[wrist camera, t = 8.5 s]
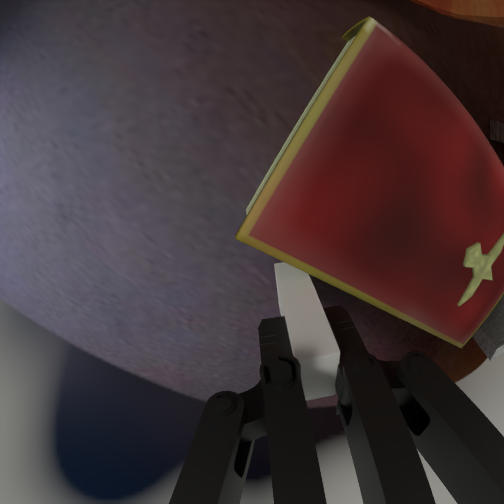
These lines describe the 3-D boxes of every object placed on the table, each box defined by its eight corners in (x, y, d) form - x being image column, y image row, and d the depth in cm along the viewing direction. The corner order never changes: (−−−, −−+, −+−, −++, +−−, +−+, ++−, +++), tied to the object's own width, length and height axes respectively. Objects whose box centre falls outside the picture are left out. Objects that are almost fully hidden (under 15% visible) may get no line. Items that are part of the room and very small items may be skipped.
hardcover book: (343, 33, 10) (376, 9, 7) (509, 217, 16) (539, 236, 12) (236, 209, 15) (235, 241, 11) (440, 320, 20) (462, 350, 16)
